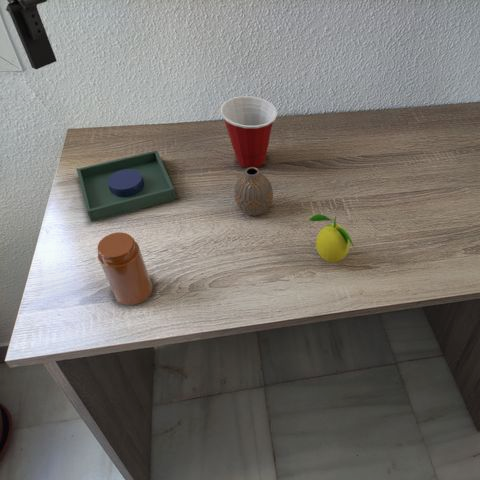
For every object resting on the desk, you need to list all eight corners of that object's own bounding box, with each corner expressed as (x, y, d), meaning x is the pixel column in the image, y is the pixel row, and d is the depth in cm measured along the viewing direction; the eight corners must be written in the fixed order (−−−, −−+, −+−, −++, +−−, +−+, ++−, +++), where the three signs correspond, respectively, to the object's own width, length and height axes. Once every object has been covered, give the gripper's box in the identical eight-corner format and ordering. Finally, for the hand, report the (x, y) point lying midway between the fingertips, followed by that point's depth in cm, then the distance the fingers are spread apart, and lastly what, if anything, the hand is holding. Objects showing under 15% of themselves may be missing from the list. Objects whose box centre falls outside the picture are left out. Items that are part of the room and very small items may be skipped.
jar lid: (146, 175, 92) (144, 168, 90) (142, 196, 87) (139, 188, 86) (113, 177, 91) (110, 169, 90) (107, 198, 87) (104, 190, 85)
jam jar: (119, 310, 70) (98, 264, 63) (111, 284, 74) (90, 237, 66) (156, 297, 72) (140, 251, 65) (147, 272, 76) (131, 225, 68)
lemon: (307, 248, 81) (309, 205, 74) (339, 241, 82) (344, 198, 75) (320, 277, 77) (323, 234, 69) (353, 269, 78) (360, 226, 71)
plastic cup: (276, 177, 94) (274, 126, 85) (222, 175, 94) (215, 123, 85) (280, 146, 101) (279, 95, 93) (230, 143, 101) (224, 92, 92)
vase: (249, 226, 84) (245, 189, 78) (229, 205, 88) (224, 168, 81) (280, 211, 87) (279, 173, 81) (260, 191, 91) (257, 154, 84)
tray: (91, 222, 83) (86, 211, 81) (80, 179, 91) (76, 168, 89) (176, 199, 88) (174, 188, 86) (159, 160, 96) (156, 150, 94)
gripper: (31, -174, 40) (103, 66, 55) (-119, -201, 48) (-20, 13, 64) (-61, -168, 35) (46, 92, 50) (-207, -198, 44) (-78, 31, 59)
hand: (9, 48), depth 57 cm, fingers open, 13 cm apart
